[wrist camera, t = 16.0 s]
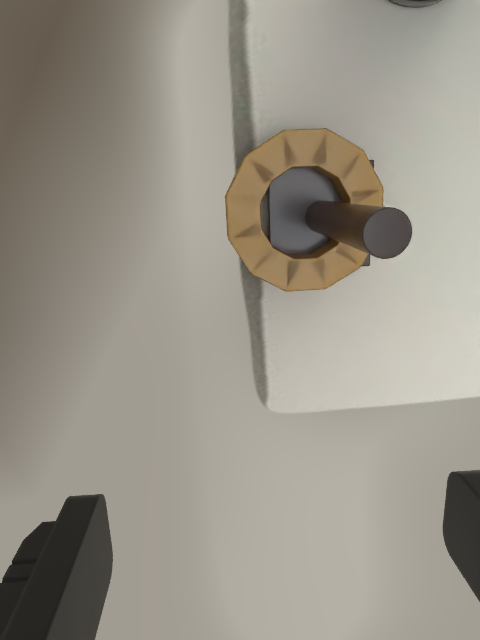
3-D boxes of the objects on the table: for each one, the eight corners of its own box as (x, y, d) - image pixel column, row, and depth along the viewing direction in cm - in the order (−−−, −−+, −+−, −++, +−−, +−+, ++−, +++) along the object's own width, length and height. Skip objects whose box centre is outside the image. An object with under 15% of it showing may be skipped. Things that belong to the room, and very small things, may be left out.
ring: (222, 136, 33) (222, 132, 31) (374, 130, 34) (386, 125, 31) (230, 288, 36) (231, 294, 34) (369, 280, 37) (379, 286, 34)
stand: (265, 164, 35) (303, 146, 20) (367, 160, 36) (479, 140, 21) (267, 267, 37) (303, 318, 23) (364, 263, 38) (461, 311, 23)
